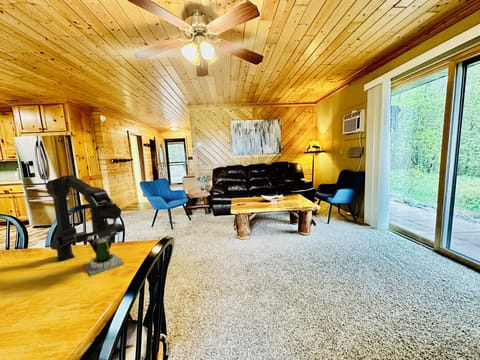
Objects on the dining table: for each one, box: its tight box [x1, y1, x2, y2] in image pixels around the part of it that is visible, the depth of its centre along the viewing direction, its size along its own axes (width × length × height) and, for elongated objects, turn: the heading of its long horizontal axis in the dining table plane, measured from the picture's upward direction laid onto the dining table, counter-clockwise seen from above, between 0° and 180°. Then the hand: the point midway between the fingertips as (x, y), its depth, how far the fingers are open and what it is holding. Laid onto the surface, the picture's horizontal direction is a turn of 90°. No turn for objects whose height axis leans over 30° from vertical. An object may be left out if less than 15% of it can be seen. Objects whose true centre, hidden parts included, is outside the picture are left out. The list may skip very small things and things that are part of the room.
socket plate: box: [83, 256, 125, 277], centre depth 97 cm, size 13×13×1 cm
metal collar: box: [88, 252, 118, 270], centre depth 97 cm, size 10×10×2 cm
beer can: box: [94, 236, 111, 263], centre depth 96 cm, size 5×5×12 cm
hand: (102, 250), depth 96 cm, fingers closed on beer can, 5 cm apart
